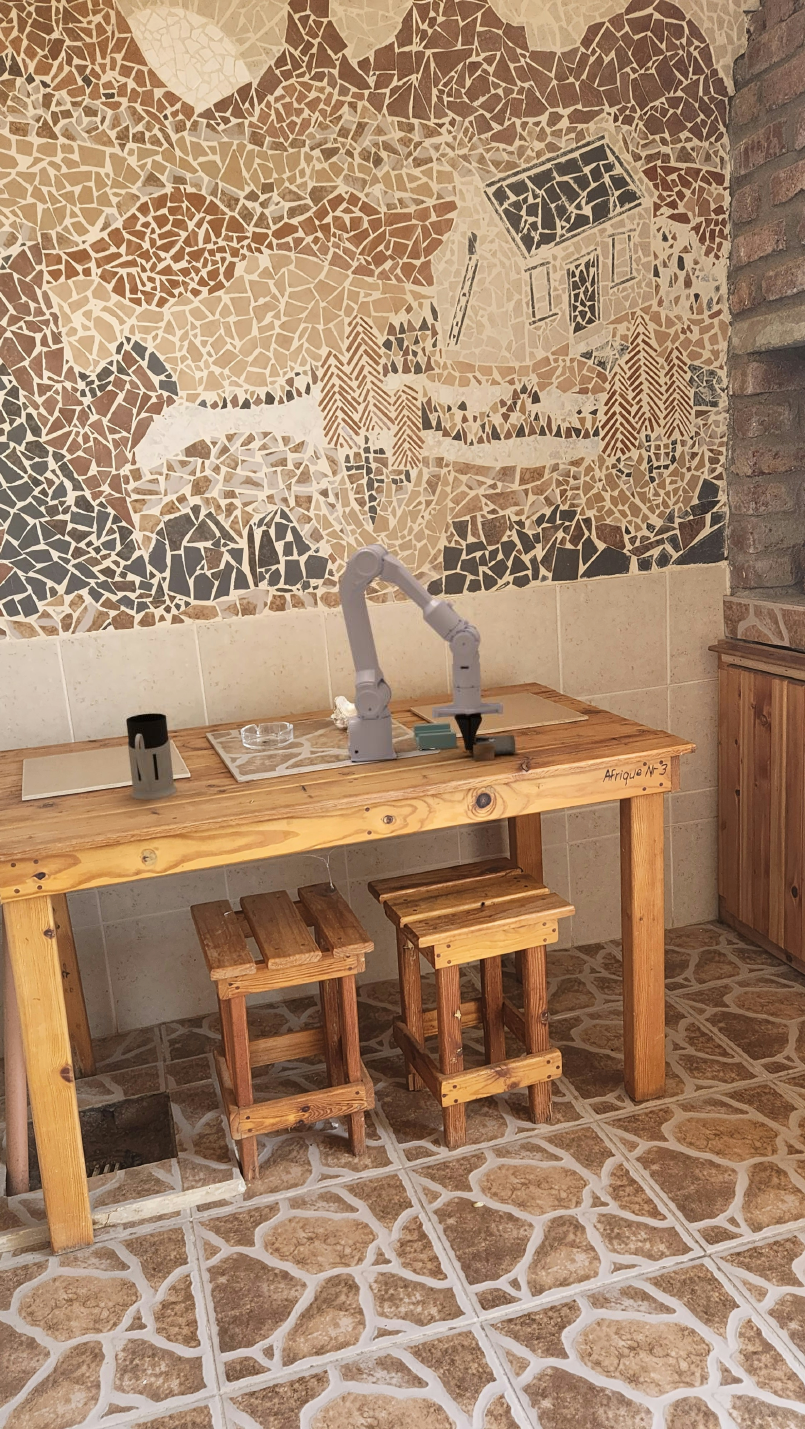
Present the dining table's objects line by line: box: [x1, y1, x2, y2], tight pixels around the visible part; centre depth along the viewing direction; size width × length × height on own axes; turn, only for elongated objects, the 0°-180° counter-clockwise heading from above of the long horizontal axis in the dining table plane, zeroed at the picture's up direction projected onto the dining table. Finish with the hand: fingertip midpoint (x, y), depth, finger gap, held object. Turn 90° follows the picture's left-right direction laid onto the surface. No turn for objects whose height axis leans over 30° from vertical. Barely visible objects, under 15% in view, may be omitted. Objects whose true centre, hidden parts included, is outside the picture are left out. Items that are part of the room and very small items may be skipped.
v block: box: [413, 721, 458, 750], centre depth 236 cm, size 8×10×3 cm
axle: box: [474, 733, 516, 756], centre depth 225 cm, size 8×4×4 cm, turn 96°
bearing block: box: [467, 734, 495, 762], centre depth 226 cm, size 4×9×3 cm, turn 6°
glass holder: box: [125, 712, 178, 801], centre depth 207 cm, size 9×14×15 cm, turn 1°
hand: (468, 749), depth 225 cm, fingers closed
